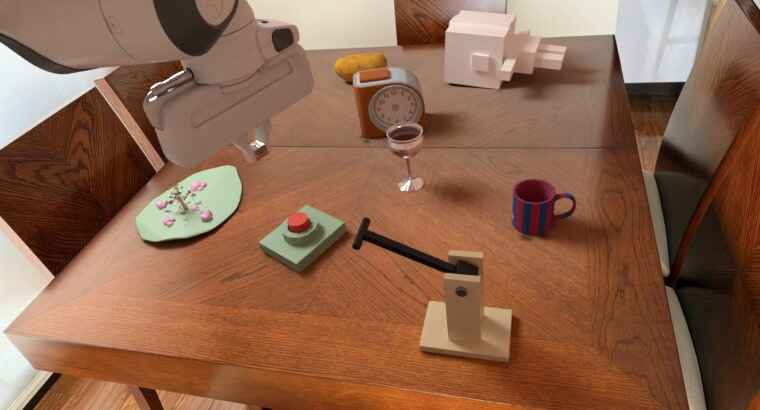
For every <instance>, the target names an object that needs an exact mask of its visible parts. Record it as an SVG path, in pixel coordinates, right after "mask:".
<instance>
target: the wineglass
mask: <svg viewBox="0 0 760 410" xmlns="http://www.w3.org/2000/svg"><path fill="white" fill-rule="evenodd" d="M423 132H424V131H423V129H422V127H421V126H420V125H418V124H416V123H411V122H404V123H399V124H396V125H394V126H392V127H390V128H389V129H388V131H387V136H386V137H387V138H388V139H387V146H388V149H389V151H390V152H391V153H392V155H394V156H396V157H398V158H400V159H405V162H406V168H407V174H408V176H406V177H403V178H401V179H400V181H399V182H398V185H397V186H398V188H399V189H400V190H401V191H403V192H409V193H411V192H416V191H418V190H420V189H421V188H422V187H423V186H424V180H423V179H422V178H421V177H419V176H416V175H412V170H411V169H412V167H411V158H414V157H415V156H417V155H418V154H419V153H420V152H421V151H422V150H423V148H424V145H425V138H424V135H423Z"/></svg>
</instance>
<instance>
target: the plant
mask: <svg viewBox="0 0 760 410" xmlns="http://www.w3.org/2000/svg"><path fill="white" fill-rule="evenodd" d="M169 183H170V184H173V186H170V185H168V189H167V190H166V191H164V192H163V193H162V194H159V195H158V196H157V197H155V198H154V199H153V200H151V201H150V203H148V204H147V205H146V206H145V207H144V208H143V209H142V210H141V211H140V212H139V214H138V215H137V216H136V217H135V222H134V223H135V224H134V225H135V228H136V230H137V232H138V234H139V236H140V238H141V239H142V240H143V241H145V242H146V241H147V242H151V243H152V242H153V243H161V242H168V241H176V240H183V239H190V238H195V237H198V236H201V235H203V234H205V233H206V234H207V233H209V232H210V231H212V230H214V229H216V228H218V227H219V226H220V225H222V224H223V223H224V222H226V220H228V219H229V218H230V217H231V216H232V215H233V214H234V213H235V211H237V209H238V206H239V204H240V202H241V198H242V195H243V194H242V193H243V185H242V181H241V178H240V176H239V173H238V170H237V167H236V166H233V165H227V164H226V165H222V166H217V167H213V168H209V169H208V168H207V169H205V170H201V171H198V172H196V173H193V174H190V175H189V176H188V177H186V178H184V179H183V180H181V181H179V182H178V183H177V184H175V183H173V180H170V181H169Z"/></svg>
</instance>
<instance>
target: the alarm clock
mask: <svg viewBox="0 0 760 410" xmlns="http://www.w3.org/2000/svg"><path fill="white" fill-rule="evenodd" d="M352 87H353V88H352V89H353V93H354V99H355V104H356V111H357V115H358V120H359V121H358V122H359V124H360V125H359V127H360V132H361V136H362V137H363V138H365V139H374V138H381V137H383V138H384V137H387V131H388V129H389V128H390V127H392V126H394V125H396V124H399V123H404V122H411V123H416V124H418V125H420V126H421V127H422V129H423V132H426V131H428V128H427V118H426V106H425V101H424V96H423V91H422V87H421V83H420V81H419V79H418V77H417V76H416V75H415V74H414V73H413V72H412V71H410V70H409V69H407V68H405V67H400V66H387V67H386V68H379V69H372V70H365V71H359V72H357V73H355V74H354V75H353V82H352Z"/></svg>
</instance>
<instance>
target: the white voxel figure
mask: <svg viewBox="0 0 760 410" xmlns="http://www.w3.org/2000/svg"><path fill="white" fill-rule="evenodd" d="M516 23H517V14H513V13H500V12H488V11H476V10H466V9H461V10H460V11H459V13H457V14H455V15H454V16H453V17H452V18H451V19H450V20H449V22H448V27H447V29H446V30H445V33H444V36H445V37H444V71H443V72H444V75H443V78H444V80H443V82H444V83H448V84H456V85H461V86H463V85H464V86H471V87H478V88H484V89H485V88H486V89H492V90H500V89H501V86H502V84H503V82H510V81H511V79H512V76H513V75H514V73H518V74H527V75H532V74H533V72H534V70H535V68H541V69H548V70H549V69H550V70H559V71H561V70H562V66H563V62H564V60H565V56H566V53H567V46H562V45H555V44H544V43H542V38H543V37H542V36H539V35H530V33H531V28H524V27H521V28H520V30H519V32H518V33H515V32H516V31H515V30H516V25H517V24H516Z"/></svg>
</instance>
